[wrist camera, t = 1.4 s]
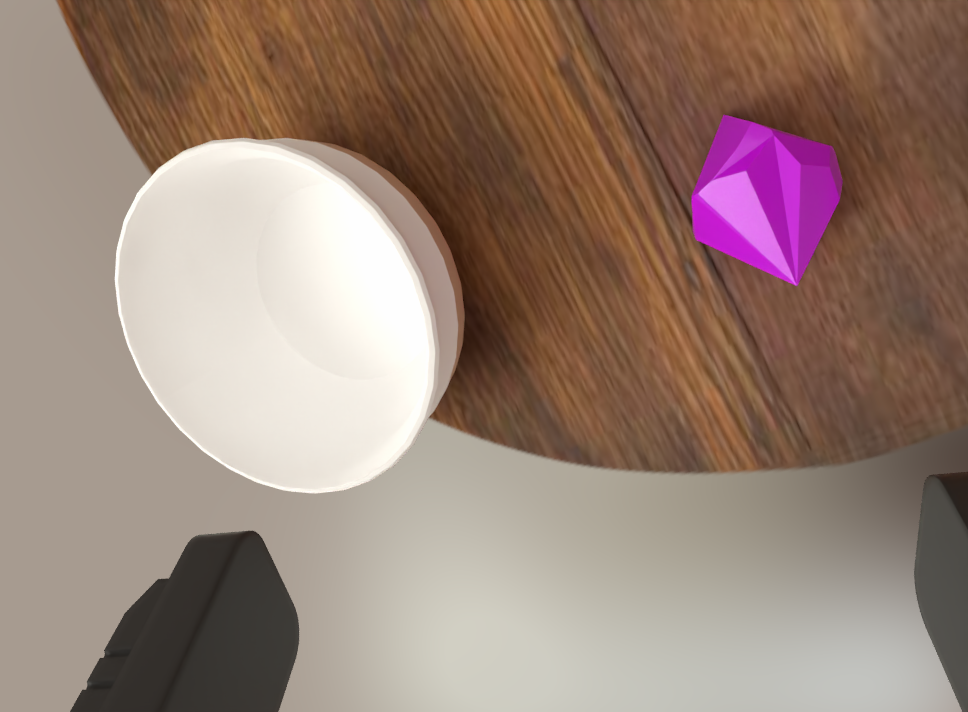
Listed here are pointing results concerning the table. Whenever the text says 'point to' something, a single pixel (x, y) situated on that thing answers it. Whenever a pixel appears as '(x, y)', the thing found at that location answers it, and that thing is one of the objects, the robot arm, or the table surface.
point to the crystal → (765, 196)
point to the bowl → (289, 309)
